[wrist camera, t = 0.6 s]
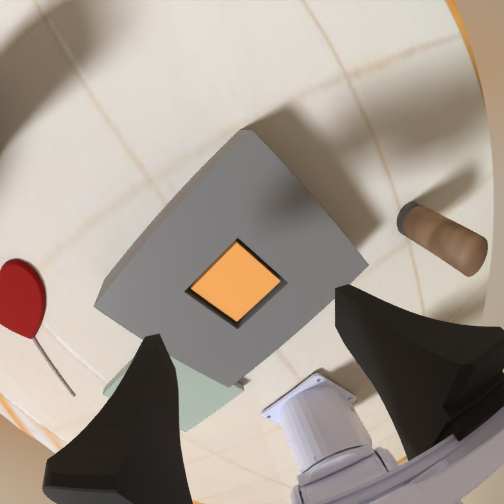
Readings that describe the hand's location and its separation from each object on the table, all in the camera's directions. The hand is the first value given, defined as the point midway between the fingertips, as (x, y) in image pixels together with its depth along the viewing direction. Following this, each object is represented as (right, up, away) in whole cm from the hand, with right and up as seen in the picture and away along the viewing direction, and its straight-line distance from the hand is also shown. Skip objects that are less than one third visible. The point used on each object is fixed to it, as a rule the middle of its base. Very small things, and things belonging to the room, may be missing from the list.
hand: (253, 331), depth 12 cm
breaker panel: (-2, +2, +10) cm, 10 cm away
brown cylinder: (+14, +6, +12) cm, 19 cm away
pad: (-7, -10, +14) cm, 19 cm away
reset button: (-1, +2, +8) cm, 8 cm away
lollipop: (-19, -4, +9) cm, 22 cm away
